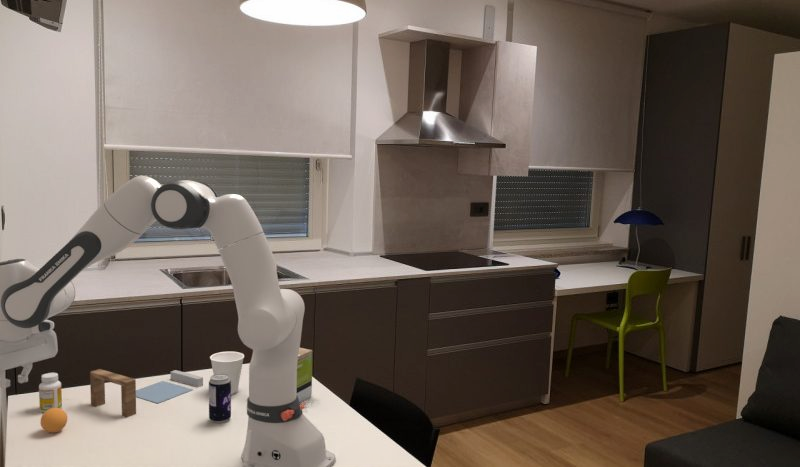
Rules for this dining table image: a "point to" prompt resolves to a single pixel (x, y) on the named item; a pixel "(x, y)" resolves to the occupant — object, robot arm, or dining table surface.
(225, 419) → the beverage can
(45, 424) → the ball
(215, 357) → the cup
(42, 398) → the supplement bottle
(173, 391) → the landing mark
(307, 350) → the tea box
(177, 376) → the grey rectangular bar
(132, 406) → the bridge
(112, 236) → the robot arm
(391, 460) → the dining table surface
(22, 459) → the dining table surface
